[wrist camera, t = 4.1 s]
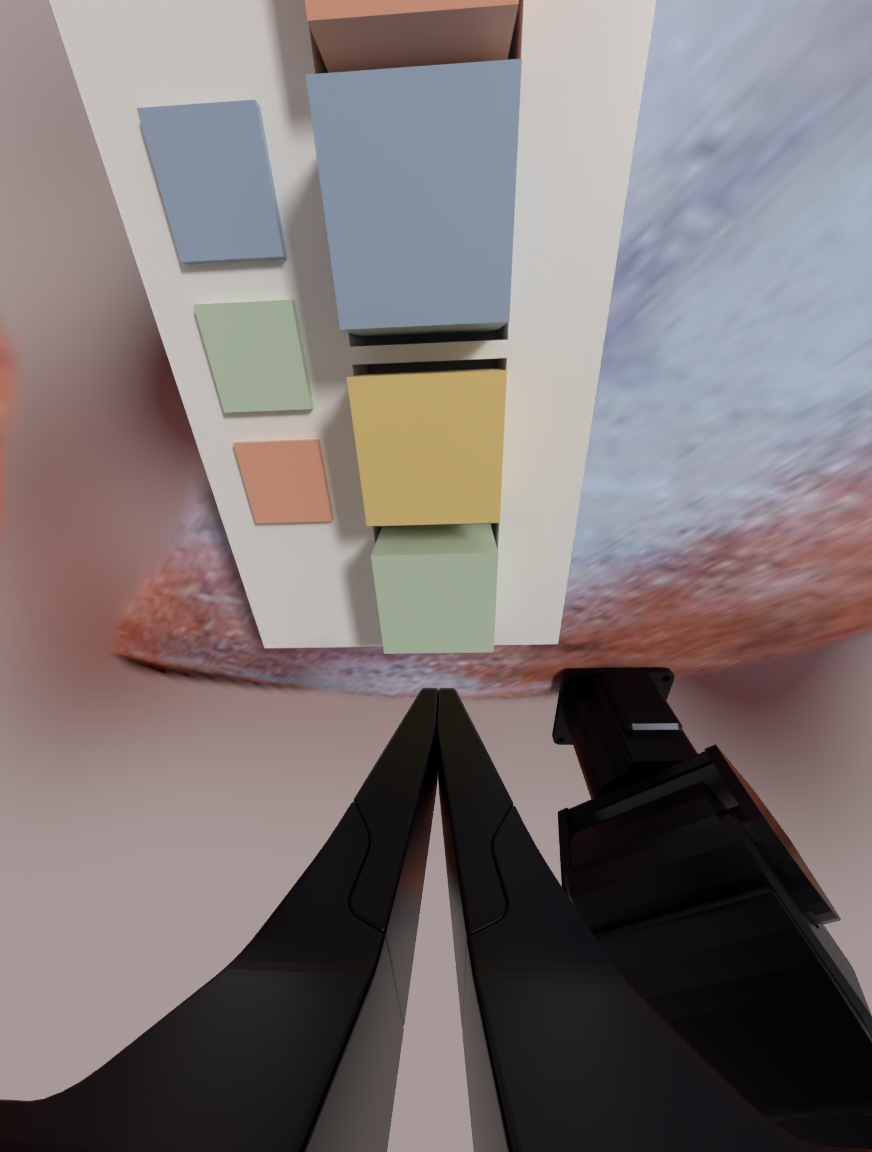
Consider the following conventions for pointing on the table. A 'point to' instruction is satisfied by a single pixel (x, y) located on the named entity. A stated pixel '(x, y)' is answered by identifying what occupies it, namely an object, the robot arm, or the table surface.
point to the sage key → (436, 587)
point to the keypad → (307, 296)
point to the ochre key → (430, 445)
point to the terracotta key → (410, 32)
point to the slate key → (419, 194)
